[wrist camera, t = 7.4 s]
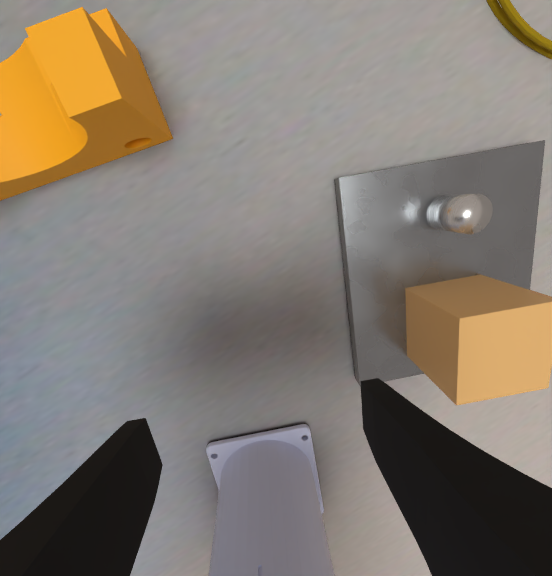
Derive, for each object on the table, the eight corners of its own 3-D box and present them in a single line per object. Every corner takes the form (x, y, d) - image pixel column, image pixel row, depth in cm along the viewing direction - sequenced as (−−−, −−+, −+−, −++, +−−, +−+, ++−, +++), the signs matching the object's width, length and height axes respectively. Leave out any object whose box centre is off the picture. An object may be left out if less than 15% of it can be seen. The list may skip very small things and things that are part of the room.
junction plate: (511, 347, 21) (567, 378, 17) (355, 377, 21) (377, 416, 17) (528, 143, 17) (608, 126, 13) (334, 179, 17) (357, 172, 13)
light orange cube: (476, 343, 20) (548, 387, 15) (407, 355, 20) (456, 405, 15) (480, 274, 18) (561, 299, 13) (405, 288, 18) (459, 318, 13)
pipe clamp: (137, 49, 14) (51, -65, 8) (173, 139, 16) (121, 98, 10) (-77, 128, 15) (-315, 75, 9) (-24, 210, 16) (-199, 214, 10)
